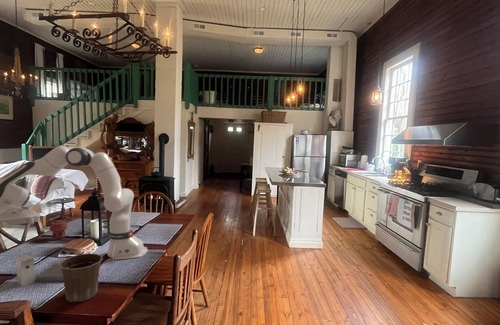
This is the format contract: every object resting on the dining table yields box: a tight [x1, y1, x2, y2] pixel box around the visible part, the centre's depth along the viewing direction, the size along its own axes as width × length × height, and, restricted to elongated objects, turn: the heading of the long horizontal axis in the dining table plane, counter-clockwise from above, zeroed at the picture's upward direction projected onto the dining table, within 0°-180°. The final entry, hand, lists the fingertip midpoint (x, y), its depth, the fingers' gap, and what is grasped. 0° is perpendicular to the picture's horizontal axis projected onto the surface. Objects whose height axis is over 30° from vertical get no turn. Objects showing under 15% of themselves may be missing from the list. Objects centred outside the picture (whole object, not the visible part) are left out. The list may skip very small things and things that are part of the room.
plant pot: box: [59, 252, 103, 303], centre depth 123 cm, size 16×16×16 cm
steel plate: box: [36, 263, 64, 283], centre depth 141 cm, size 14×14×2 cm
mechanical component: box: [49, 219, 68, 241], centre depth 188 cm, size 12×10×10 cm
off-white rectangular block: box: [15, 254, 35, 287], centre depth 132 cm, size 5×6×12 cm
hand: (21, 224), depth 140 cm, fingers open, 8 cm apart
